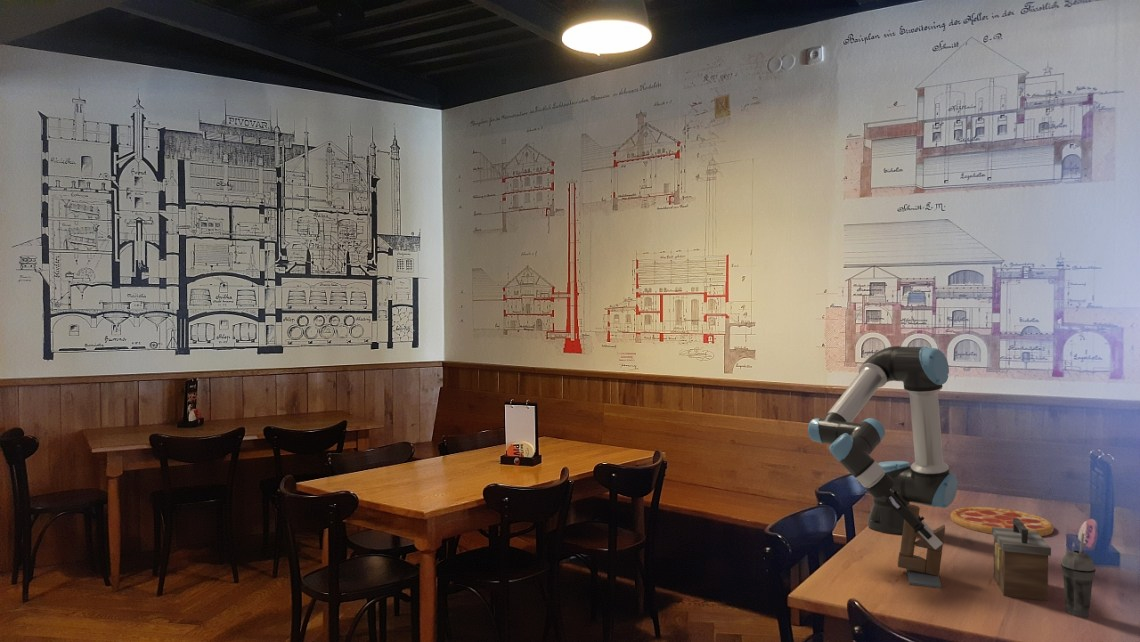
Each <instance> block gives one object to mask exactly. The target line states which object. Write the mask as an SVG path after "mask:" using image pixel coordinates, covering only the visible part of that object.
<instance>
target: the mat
mask: <svg viewBox="0 0 1140 642" xmlns="http://www.w3.org/2000/svg"><path fill="white" fill-rule="evenodd" d="M905 571H906V575H907V579H908V584H909V585H911V586H912V585H913V586H920V587H926V588H938V589H942V587H943V586H942V583H941V580H940V577H939V576H935V575H930V574H926V573H922V572H918V571H913V570H909V569H905Z"/></svg>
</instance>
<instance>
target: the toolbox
mask: <svg viewBox="0 0 1140 642" xmlns="http://www.w3.org/2000/svg"><path fill="white" fill-rule="evenodd" d="M991 535H992V537H993V578H994V580H995V582H996V583H997V584H996V585H998V587H999V589H1000V592H1001V593H1002V594H1003V596H1004V597H1010V598H1011V597H1012V598H1019V599H1027V600H1037V601H1047V602H1048V600H1049V599H1048V594H1049V591H1048V590H1049V583H1048V582H1049V556H1052V548H1051V546H1050V545H1049V544H1048V542H1047V541H1045V539H1044V538H1043V536H1042V537H1041V536H1040V535H1039V534H1038V532H1037V531H1031V530H1028V529H1027V528H1026V527H1025V526H1024V524H1023V523H1022V522H1021V521H1020V520H1019V519H1018V518H1013V529H1010V528H999V527H992V534H991Z"/></svg>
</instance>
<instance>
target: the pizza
mask: <svg viewBox="0 0 1140 642" xmlns="http://www.w3.org/2000/svg"><path fill="white" fill-rule="evenodd" d="M1013 518H1018V519H1019V520H1020V521H1021V522H1022V523H1023V524H1024V526H1025V527H1026V528H1027V529H1028V530H1031V531H1037V532H1038V534H1039V535H1040V536H1041V537H1042V538H1043V537H1046V536H1049V535H1051V534H1053V532H1054V528H1055V526H1054V525H1053V523H1052V522H1050V521H1049V520H1048V519H1046V518H1043V517H1042V516H1038V515H1036V514H1032V513H1029V512H1025V511H1024V512H1023V511H1018V510H1013V509H1007V508H998V507H988V506H987V507H986V506H969V507H960V508H956V509H954V510H952V511H951V513H950V519H951V521H952V522H953V523H954V524H956V525H957V526H960V527H962V528H966V529H968V530H971V531H974V532H980V533H983V534H988V535H992V527H999V528H1010V529H1013Z"/></svg>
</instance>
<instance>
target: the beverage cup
mask: <svg viewBox="0 0 1140 642" xmlns="http://www.w3.org/2000/svg"><path fill="white" fill-rule="evenodd" d="M1084 539H1085V533H1081V539H1080V545H1079V550H1071V551H1068V552H1066V553H1065V554H1064V556H1063V557H1062V559H1061V564H1060V566H1061V572H1062V575H1063V576H1062V577H1063V587H1064V588H1063V589H1064V599H1065V607H1066V613H1067V614H1069V615H1071V616H1074V617H1078V618H1086V617H1089V611H1090V607H1091V599H1092V590H1093V581H1094V577H1095V574H1096V573H1095V572H1096V566H1095V563H1094V561H1093V559H1092V558H1091V557H1090V556H1089V555H1088V553H1086V552H1084V551H1083V549H1084V548H1083V547H1084Z"/></svg>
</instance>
